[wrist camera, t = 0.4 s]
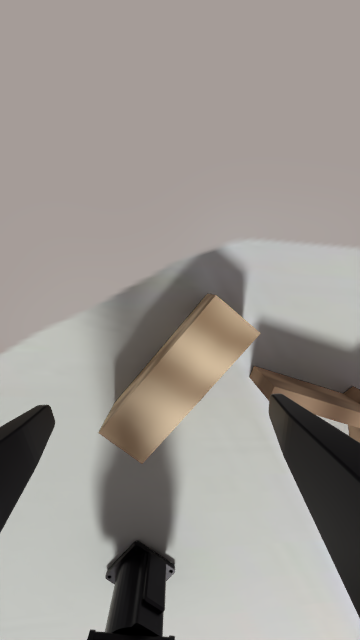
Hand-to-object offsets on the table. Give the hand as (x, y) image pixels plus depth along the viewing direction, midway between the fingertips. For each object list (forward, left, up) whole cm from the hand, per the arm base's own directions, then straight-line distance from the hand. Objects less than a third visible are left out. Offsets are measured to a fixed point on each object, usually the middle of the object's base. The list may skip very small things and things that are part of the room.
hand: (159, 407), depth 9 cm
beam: (-2, -3, -14) cm, 15 cm away
